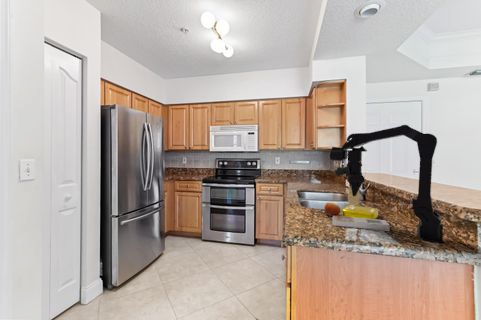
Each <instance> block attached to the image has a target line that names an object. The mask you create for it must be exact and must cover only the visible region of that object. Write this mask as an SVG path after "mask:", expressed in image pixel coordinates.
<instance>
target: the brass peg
mask: <svg viewBox="0 0 481 320" xmlns="http://www.w3.org/2000/svg"><path fill="white" fill-rule="evenodd" d="M347 203H348V205H352V206H360V189H359V190H358V192H357V194H356V196H353V194H352V189H351V186H350V185H349V186H348V200H347Z"/></svg>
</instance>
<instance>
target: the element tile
mask: <svg viewBox="0 0 481 320" xmlns="http://www.w3.org/2000/svg"><path fill="white" fill-rule="evenodd" d="M341 210H342V213H341V214H342V215H341V216H346V217H353V218H364V219H376V220H378V217H379V209H378V208H376V207H370V206H369V207H368V206H360V205H349V204H348V205H346V206H345V207H344V208H342V209H341Z"/></svg>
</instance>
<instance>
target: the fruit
mask: <svg viewBox="0 0 481 320" xmlns="http://www.w3.org/2000/svg"><path fill="white" fill-rule="evenodd" d="M323 211H324V215H325V216H329V218H330V217H331V216H332V217H333V216H339V214H340V212H341V207H340V205H338V204H335V203H333V202H326V203H325V205H324V210H323Z"/></svg>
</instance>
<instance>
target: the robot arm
mask: <svg viewBox="0 0 481 320" xmlns="http://www.w3.org/2000/svg"><path fill="white" fill-rule="evenodd" d="M402 136H404V137H407V138H408V139H410V140H412V141H413V142H416V145H417V150H418V154H419V155H418V156H419V169H418V170H419V173H418V174H419V175H418V191H417V192H418V193H417V197H415V196H413V197H412V199H411V202H412V207H411V210H412V211H413V214H414V215H415V216H416V217H417V218H418V219H419V220H418V224H417V225H416V227H417V228H416V230H417V231H416V233H417V234H416V235H417V236H418V237H419V238H420V239H421V240H422V241H426V242H437V243H446V241H445V239H444V231H443V230H444V225H443V223H441V222H442V217H441V215H440V214H438V213H437V212H436V211H435V210H434V209H435V208H434V203H433V199H432V193H431V192H432V191H431V190H432V172H433V171H432V170H433V157H434V155H435V152H436V148H437V145H438V138H437V137H436V136H435V135H434V134H432V133H423V132H422V131H419V130H417V129H415V128H413V127H410V126H409V125H408V124H402V125H399V126H396V127H391V128H386V129H381V130H375V131H372V132H363V133H350V134H348V136H347V137H346V141H345V142H344V143H343V145H342V146H341V147H340V146H331V150H330V153H329V159H330V161H331V162H345V160H347V163H346V164H345V165H346V166H343V167H341V166H339V167H337V168H336V169H334V170H333V171H334V174H335V177H336V178H338V177H341V176H343V175H344V176H345V180H346V181H347V182H348V183H349V186H351V189H352V194H353V196H356V194H357V192H358V190H359V191H360V188H361V187H362V184H363V183H364V182H365V176H364V175H363V173H362V167H363V163H362V161H363V160H362V158H363V157H362V156H363V152H365V153H366V152H367V151H368V150H367V149H366V148H365V147H364V145H367V144H369V143H372V142H375V141H381V140H387V139H392V138H396V137H402Z"/></svg>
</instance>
